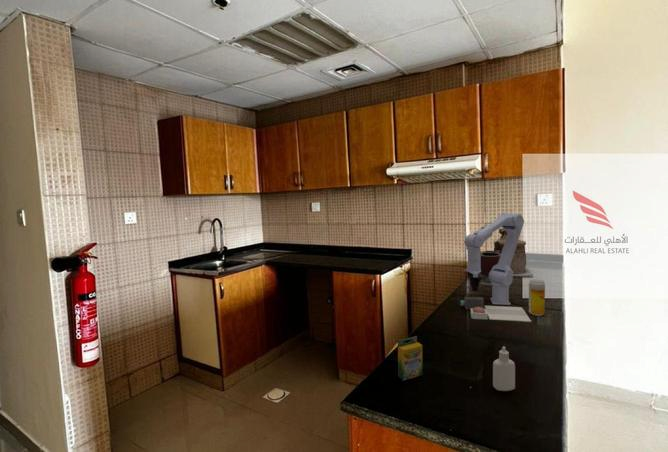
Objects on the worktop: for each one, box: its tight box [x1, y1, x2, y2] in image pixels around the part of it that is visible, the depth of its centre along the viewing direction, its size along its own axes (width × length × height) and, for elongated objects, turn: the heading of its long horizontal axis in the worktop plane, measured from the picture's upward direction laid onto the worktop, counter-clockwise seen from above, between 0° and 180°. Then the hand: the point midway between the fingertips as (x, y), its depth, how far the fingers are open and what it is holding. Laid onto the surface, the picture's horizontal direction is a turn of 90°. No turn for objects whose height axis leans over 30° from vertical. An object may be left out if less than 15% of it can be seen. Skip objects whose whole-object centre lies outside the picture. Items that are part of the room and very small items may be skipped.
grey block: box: [459, 296, 485, 310], centre depth 166 cm, size 4×10×5 cm, turn 73°
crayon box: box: [397, 335, 424, 381], centre depth 108 cm, size 7×3×12 cm, turn 114°
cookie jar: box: [493, 227, 534, 279], centre depth 229 cm, size 25×25×32 cm
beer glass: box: [528, 278, 546, 317], centre depth 155 cm, size 6×6×15 cm
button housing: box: [469, 308, 489, 320], centre depth 155 cm, size 6×6×2 cm
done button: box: [474, 307, 484, 313], centre depth 155 cm, size 4×4×2 cm
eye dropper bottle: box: [492, 346, 516, 392], centre depth 99 cm, size 4×6×12 cm
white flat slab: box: [484, 305, 532, 323], centre depth 158 cm, size 18×16×1 cm
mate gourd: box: [479, 251, 501, 286], centre depth 209 cm, size 16×14×20 cm
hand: (474, 288), depth 165 cm, fingers open, 7 cm apart
